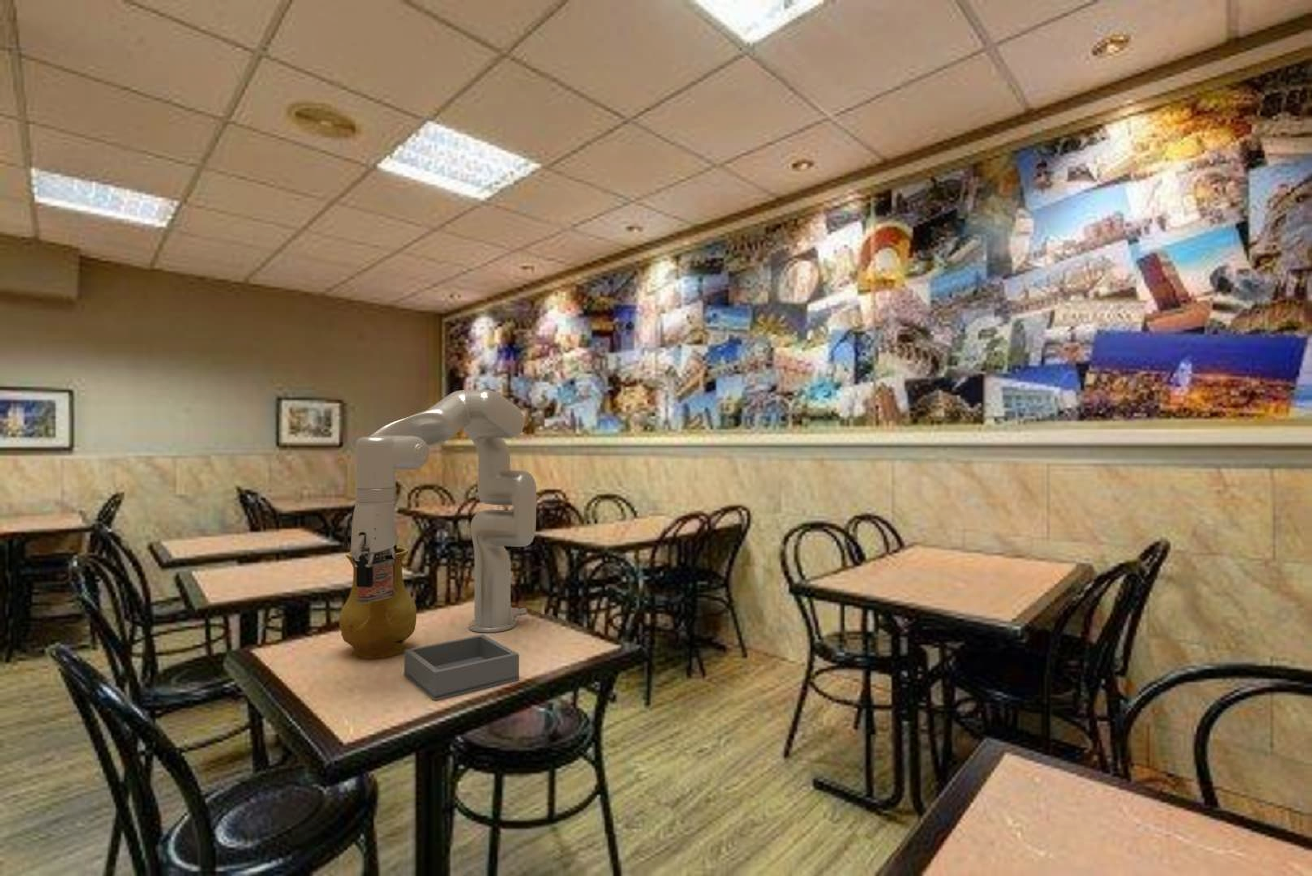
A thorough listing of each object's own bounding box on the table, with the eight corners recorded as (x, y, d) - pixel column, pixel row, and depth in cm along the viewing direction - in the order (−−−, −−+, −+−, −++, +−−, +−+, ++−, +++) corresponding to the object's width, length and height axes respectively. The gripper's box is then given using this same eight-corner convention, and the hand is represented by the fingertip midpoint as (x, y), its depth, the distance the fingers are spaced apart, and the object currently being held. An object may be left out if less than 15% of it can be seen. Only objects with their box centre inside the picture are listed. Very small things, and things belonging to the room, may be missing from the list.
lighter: (364, 603, 131) (364, 553, 131) (353, 601, 133) (353, 552, 133) (397, 595, 138) (397, 547, 138) (387, 593, 140) (387, 546, 140)
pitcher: (430, 639, 167) (425, 541, 166) (394, 668, 148) (388, 558, 147) (366, 639, 169) (360, 542, 167) (322, 667, 150) (316, 559, 149)
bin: (483, 658, 153) (483, 634, 154) (518, 680, 139) (519, 654, 139) (404, 675, 142) (404, 649, 142) (434, 701, 128) (434, 672, 128)
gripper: (380, 492, 145) (381, 573, 145) (333, 500, 127) (333, 591, 128) (413, 493, 144) (413, 573, 144) (370, 501, 127) (370, 592, 127)
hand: (376, 581), depth 136 cm, fingers closed on lighter, 7 cm apart
